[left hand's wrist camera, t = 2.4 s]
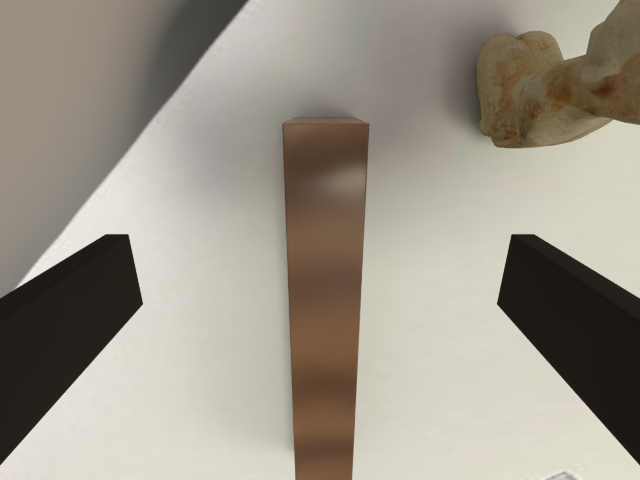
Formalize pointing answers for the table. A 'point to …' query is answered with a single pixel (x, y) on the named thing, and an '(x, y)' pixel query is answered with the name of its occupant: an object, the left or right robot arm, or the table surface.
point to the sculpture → (560, 83)
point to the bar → (324, 286)
